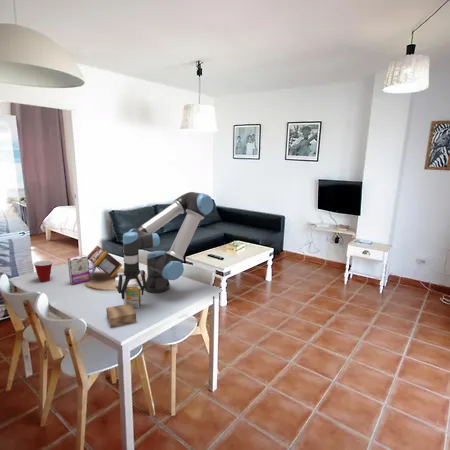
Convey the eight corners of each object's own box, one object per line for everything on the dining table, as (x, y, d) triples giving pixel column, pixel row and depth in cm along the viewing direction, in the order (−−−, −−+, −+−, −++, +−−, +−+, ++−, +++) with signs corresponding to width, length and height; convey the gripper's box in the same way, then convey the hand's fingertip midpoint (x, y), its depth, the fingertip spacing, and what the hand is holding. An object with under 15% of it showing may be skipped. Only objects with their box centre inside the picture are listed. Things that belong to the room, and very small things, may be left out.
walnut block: (131, 312, 165) (130, 303, 164) (136, 322, 154) (136, 313, 153) (106, 317, 159) (106, 307, 158) (110, 328, 149) (110, 318, 148)
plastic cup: (57, 279, 205) (56, 261, 202) (40, 284, 196) (38, 266, 194) (49, 275, 211) (47, 258, 208) (32, 280, 202) (30, 262, 200)
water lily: (108, 273, 211) (98, 266, 206) (90, 283, 214) (80, 276, 209) (110, 258, 222) (101, 250, 216) (93, 267, 225) (84, 260, 219)
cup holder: (112, 286, 196) (111, 275, 195) (127, 281, 205) (126, 270, 203) (133, 295, 185) (132, 283, 183) (147, 289, 194) (147, 277, 192)
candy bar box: (87, 278, 207) (85, 254, 204) (90, 280, 204) (88, 256, 201) (69, 282, 200) (67, 258, 196) (72, 285, 196) (70, 259, 193)
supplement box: (113, 257, 220) (96, 244, 210) (122, 265, 209) (106, 251, 199) (102, 269, 217) (85, 257, 207) (111, 277, 206) (94, 264, 196)
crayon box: (140, 305, 172) (139, 285, 170) (139, 307, 169) (138, 287, 167) (127, 304, 172) (126, 284, 169) (125, 307, 169) (124, 287, 166)
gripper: (148, 257, 174) (149, 296, 178) (109, 262, 163) (111, 303, 168) (152, 261, 168) (153, 301, 172) (112, 267, 157) (115, 309, 161)
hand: (132, 302), depth 170 cm, fingers closed on crayon box, 8 cm apart
